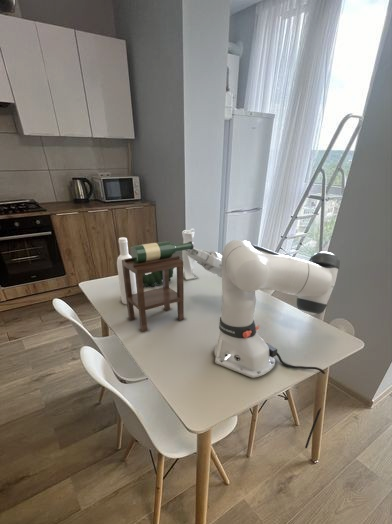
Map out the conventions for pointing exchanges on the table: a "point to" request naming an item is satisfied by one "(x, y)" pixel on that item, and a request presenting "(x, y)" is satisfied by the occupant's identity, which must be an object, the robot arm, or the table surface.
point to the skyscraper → (187, 260)
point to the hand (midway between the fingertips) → (190, 250)
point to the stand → (156, 295)
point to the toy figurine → (155, 277)
